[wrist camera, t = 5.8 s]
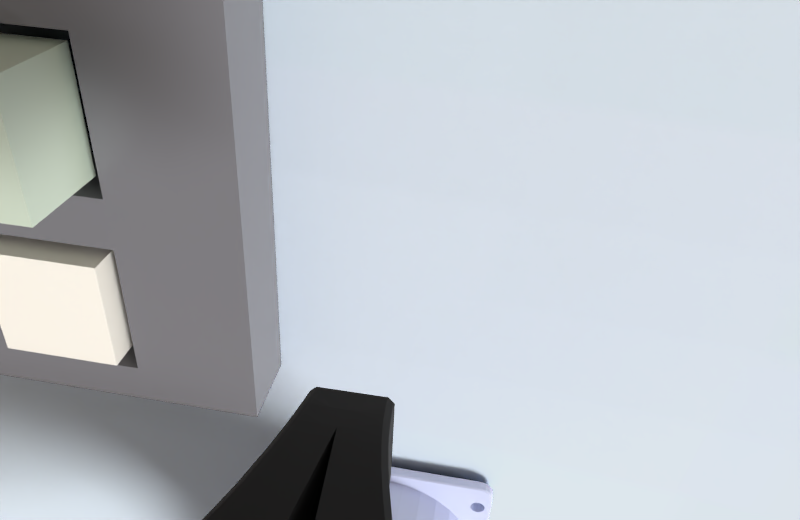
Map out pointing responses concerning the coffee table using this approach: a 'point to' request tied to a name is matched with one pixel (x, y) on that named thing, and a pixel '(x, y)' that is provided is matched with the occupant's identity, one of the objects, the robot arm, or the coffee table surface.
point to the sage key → (39, 129)
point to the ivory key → (62, 300)
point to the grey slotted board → (171, 197)
